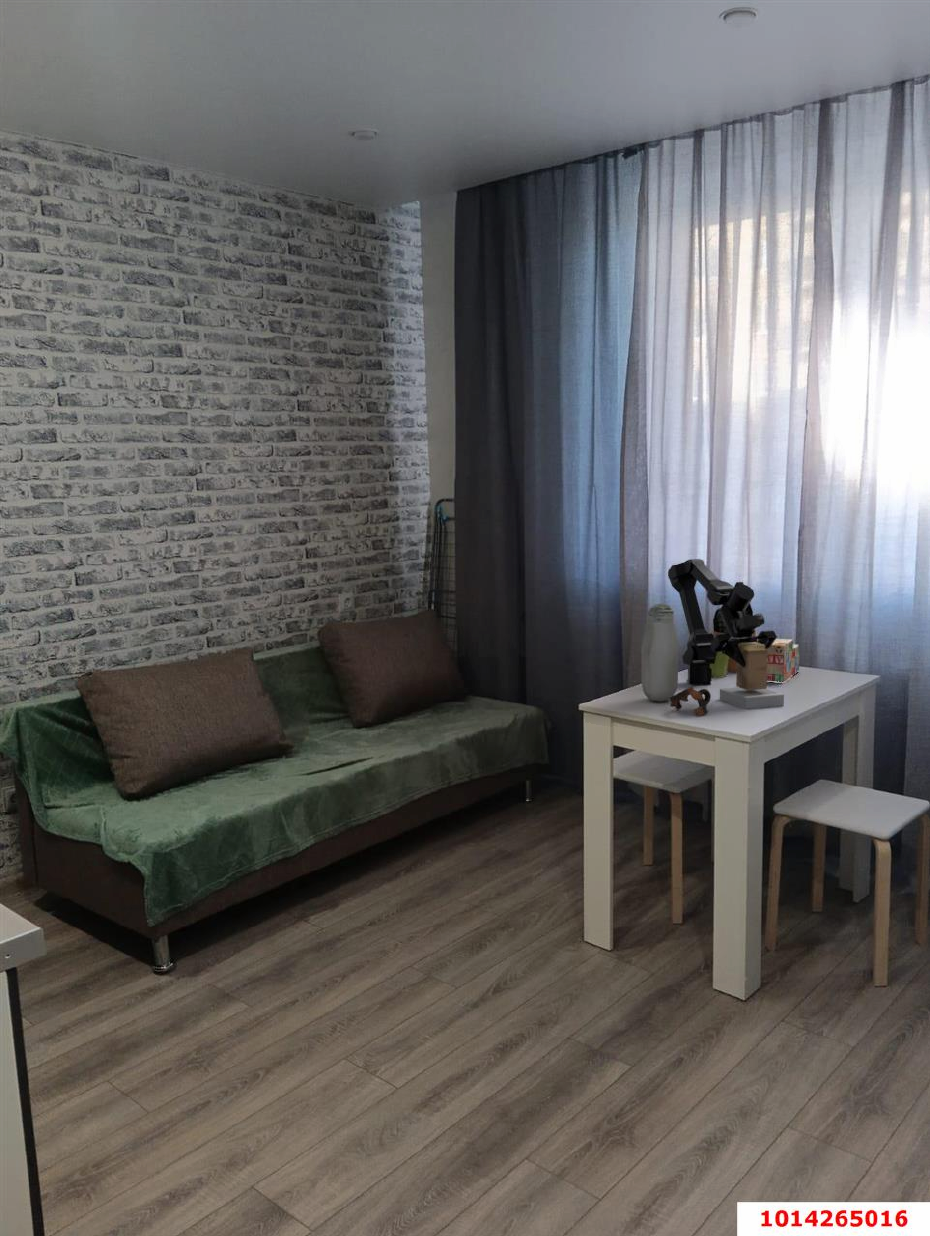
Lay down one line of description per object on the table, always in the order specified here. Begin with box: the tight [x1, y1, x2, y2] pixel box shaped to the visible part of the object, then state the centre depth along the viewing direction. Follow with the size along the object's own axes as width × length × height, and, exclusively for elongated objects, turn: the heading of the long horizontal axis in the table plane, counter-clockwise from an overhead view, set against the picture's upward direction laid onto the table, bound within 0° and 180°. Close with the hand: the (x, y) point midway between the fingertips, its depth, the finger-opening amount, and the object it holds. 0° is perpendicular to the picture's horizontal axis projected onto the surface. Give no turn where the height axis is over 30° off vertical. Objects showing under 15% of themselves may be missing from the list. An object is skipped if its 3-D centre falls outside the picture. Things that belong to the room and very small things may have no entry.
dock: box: [719, 686, 785, 710], centre depth 297 cm, size 14×12×3 cm
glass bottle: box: [640, 603, 680, 703], centre depth 300 cm, size 10×10×28 cm
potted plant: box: [712, 602, 757, 673], centre depth 345 cm, size 14×14×25 cm
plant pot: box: [710, 650, 729, 678], centre depth 337 cm, size 9×9×9 cm
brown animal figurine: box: [669, 685, 712, 717], centre depth 286 cm, size 12×10×8 cm
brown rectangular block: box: [735, 642, 767, 690], centre depth 296 cm, size 6×6×12 cm
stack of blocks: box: [765, 638, 800, 682], centre depth 333 cm, size 21×6×12 cm, turn 150°
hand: (754, 665), depth 295 cm, fingers closed on brown rectangular block, 6 cm apart
